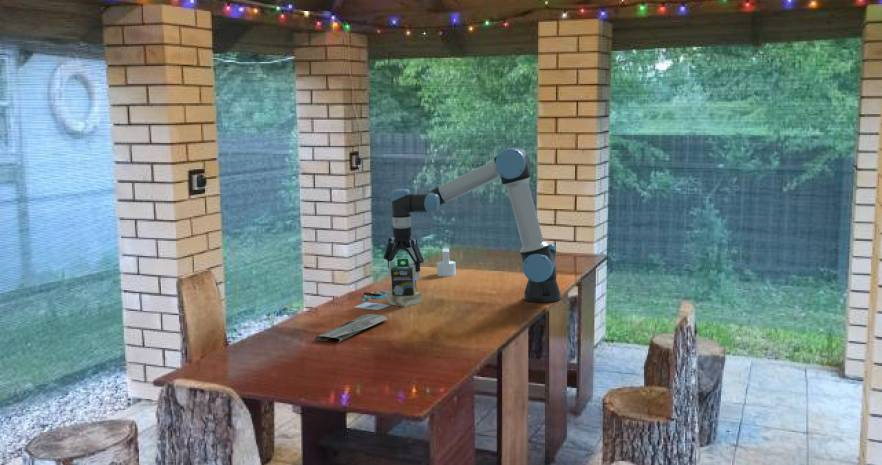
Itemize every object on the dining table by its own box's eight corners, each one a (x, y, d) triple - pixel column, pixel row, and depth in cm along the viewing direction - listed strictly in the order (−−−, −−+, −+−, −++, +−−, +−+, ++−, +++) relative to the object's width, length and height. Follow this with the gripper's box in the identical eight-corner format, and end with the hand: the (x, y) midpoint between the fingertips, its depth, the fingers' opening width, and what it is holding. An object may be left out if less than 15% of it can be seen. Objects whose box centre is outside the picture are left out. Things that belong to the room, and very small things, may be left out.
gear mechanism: (351, 301, 360) (370, 303, 355) (351, 289, 359) (369, 291, 354) (377, 292, 377) (395, 294, 372) (377, 280, 376) (395, 281, 371)
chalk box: (416, 291, 355) (415, 256, 353) (413, 296, 346) (412, 260, 344) (395, 291, 356) (393, 256, 354) (391, 296, 347) (390, 260, 345)
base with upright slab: (455, 276, 405) (455, 251, 403) (436, 276, 405) (436, 252, 403) (455, 272, 414) (455, 248, 412) (437, 273, 414) (436, 248, 412)
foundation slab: (421, 302, 352) (421, 292, 352) (405, 306, 345) (404, 297, 344) (403, 299, 359) (403, 290, 358) (387, 303, 351) (387, 294, 351)
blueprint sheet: (390, 305, 348) (390, 304, 348) (378, 310, 340) (378, 309, 340) (366, 302, 354) (366, 302, 354) (353, 307, 346) (353, 306, 346)
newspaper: (362, 319, 328) (362, 310, 328) (391, 321, 323) (390, 312, 323) (312, 342, 297) (312, 333, 296) (343, 346, 292) (342, 336, 291)
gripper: (373, 226, 352) (376, 276, 355) (418, 230, 336) (420, 282, 339) (386, 224, 358) (388, 273, 361) (431, 227, 342) (433, 279, 345)
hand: (404, 278), depth 350 cm, fingers open, 13 cm apart
